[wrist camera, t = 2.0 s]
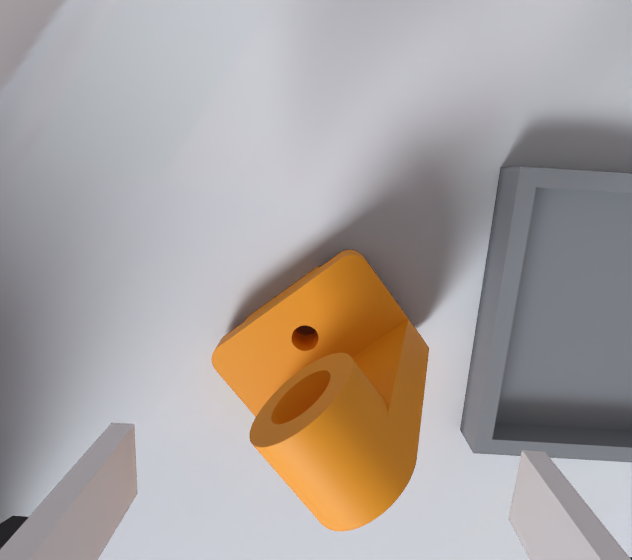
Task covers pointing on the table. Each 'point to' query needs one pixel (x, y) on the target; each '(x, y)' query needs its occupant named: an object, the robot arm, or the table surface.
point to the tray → (555, 319)
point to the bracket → (332, 390)
